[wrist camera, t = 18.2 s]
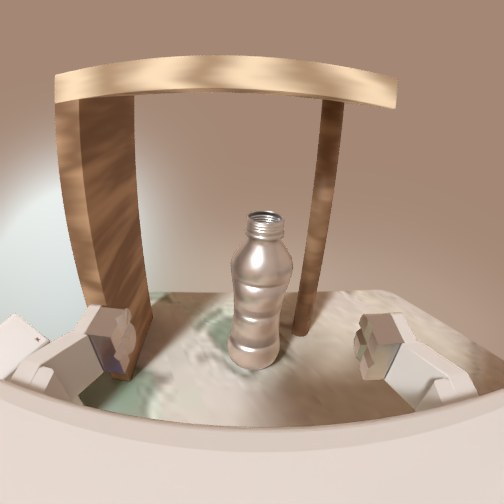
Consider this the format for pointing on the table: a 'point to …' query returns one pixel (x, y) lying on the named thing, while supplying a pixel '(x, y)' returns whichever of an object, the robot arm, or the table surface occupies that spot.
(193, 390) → the table surface
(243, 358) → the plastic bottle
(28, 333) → the supplement box
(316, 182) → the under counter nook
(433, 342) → the table surface
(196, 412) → the table surface
